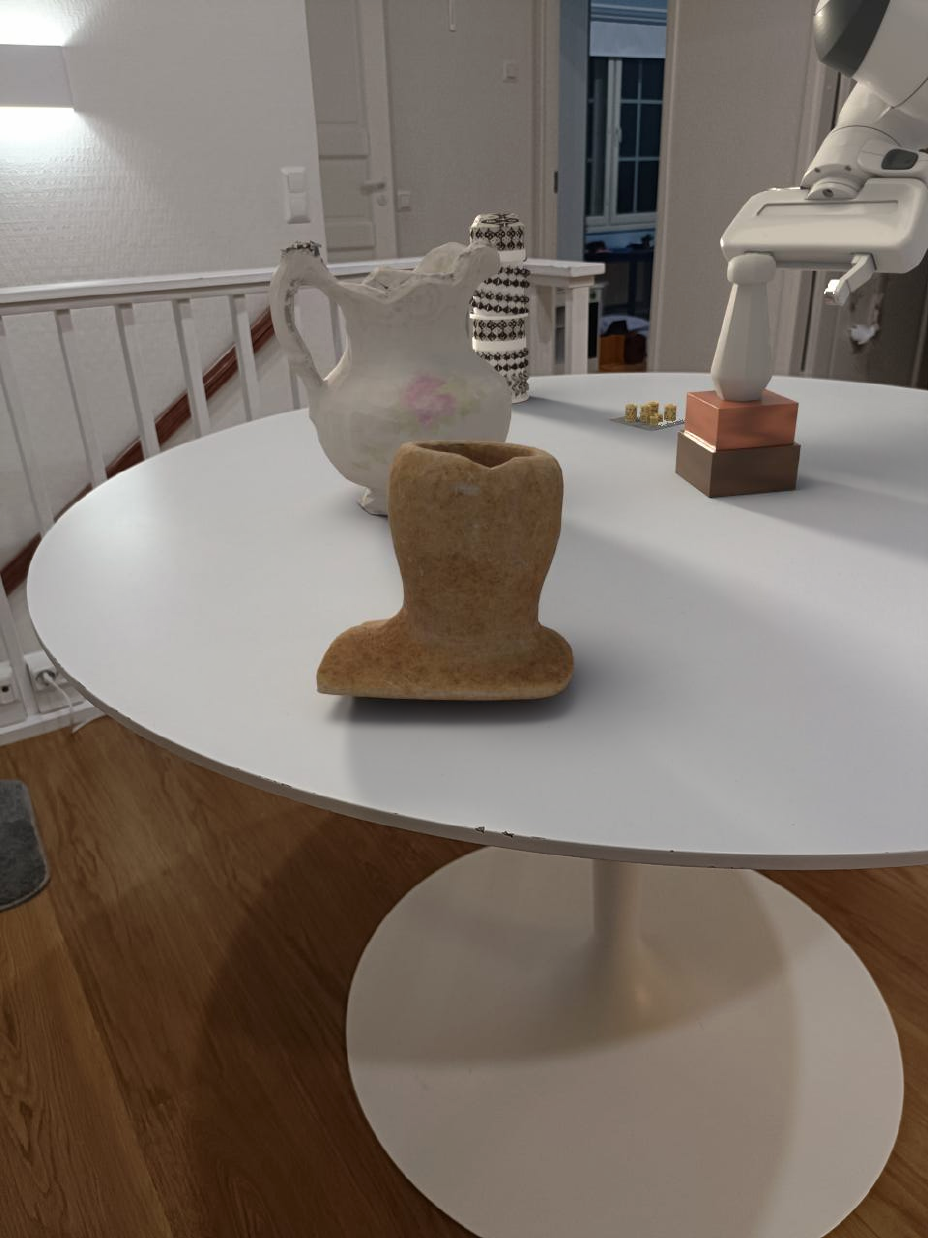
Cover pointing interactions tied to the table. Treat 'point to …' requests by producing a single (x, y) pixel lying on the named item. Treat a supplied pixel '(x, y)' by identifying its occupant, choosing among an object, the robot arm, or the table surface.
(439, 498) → the stone cup
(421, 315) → the ceramic pitcher
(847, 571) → the table surface
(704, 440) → the block stack
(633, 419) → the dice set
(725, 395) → the salt shaker
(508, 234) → the white patterned cylinder
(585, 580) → the table surface
